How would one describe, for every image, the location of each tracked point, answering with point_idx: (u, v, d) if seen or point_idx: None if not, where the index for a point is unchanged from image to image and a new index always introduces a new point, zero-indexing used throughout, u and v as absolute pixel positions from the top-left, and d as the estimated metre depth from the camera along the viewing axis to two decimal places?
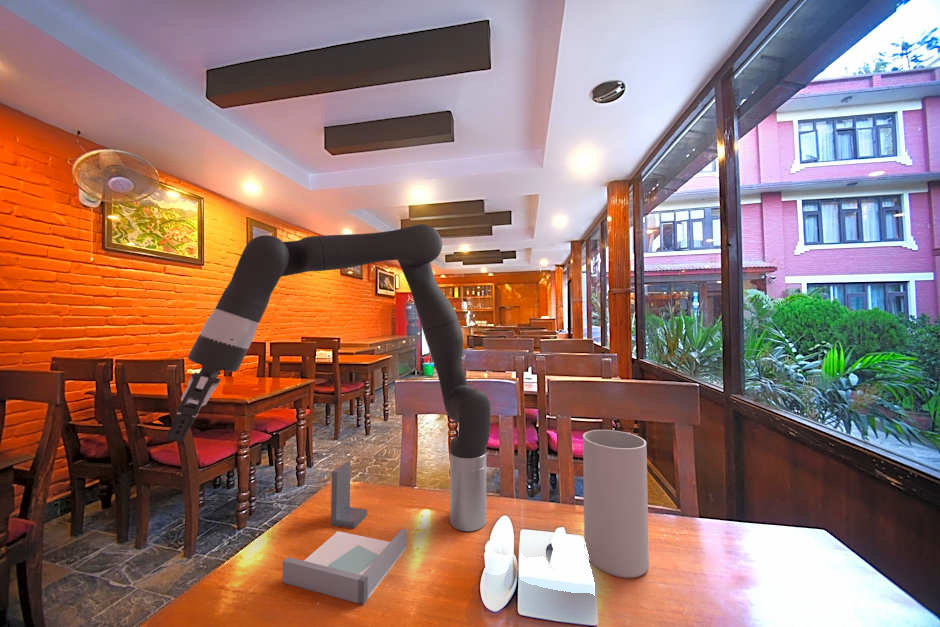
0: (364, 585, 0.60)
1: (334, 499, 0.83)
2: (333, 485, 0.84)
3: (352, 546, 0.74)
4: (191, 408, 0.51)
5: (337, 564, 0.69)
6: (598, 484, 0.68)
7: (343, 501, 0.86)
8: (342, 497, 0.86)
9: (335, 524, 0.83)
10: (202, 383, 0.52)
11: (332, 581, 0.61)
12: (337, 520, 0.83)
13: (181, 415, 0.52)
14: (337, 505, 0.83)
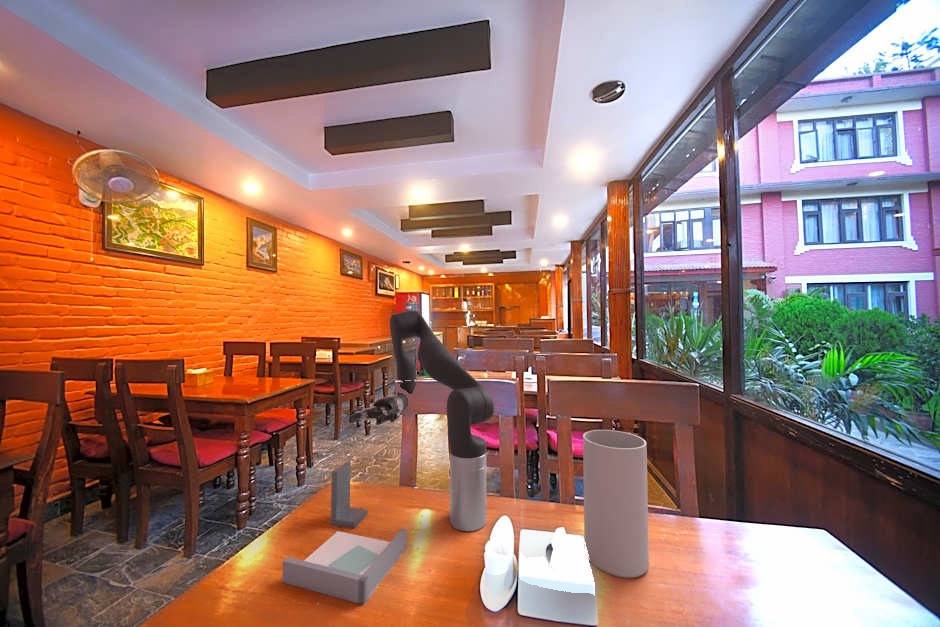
0: (364, 585, 0.60)
1: (334, 499, 0.83)
2: (333, 485, 0.84)
3: (352, 546, 0.74)
4: None
5: (337, 564, 0.69)
6: (598, 484, 0.68)
7: (343, 501, 0.86)
8: (342, 497, 0.86)
9: (335, 524, 0.83)
10: None
11: (332, 581, 0.61)
12: (337, 520, 0.83)
13: None
14: (337, 505, 0.83)
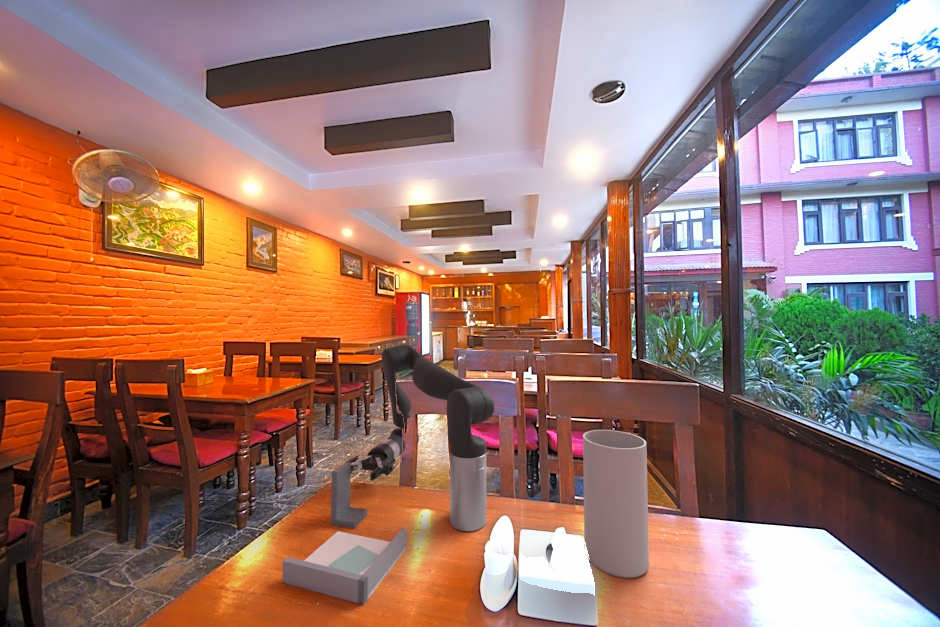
0: (364, 585, 0.60)
1: (334, 499, 0.83)
2: (333, 485, 0.84)
3: (352, 546, 0.74)
4: None
5: (337, 564, 0.69)
6: (598, 484, 0.68)
7: (343, 501, 0.86)
8: (342, 497, 0.86)
9: (335, 524, 0.83)
10: None
11: (332, 581, 0.61)
12: (337, 520, 0.83)
13: None
14: (337, 505, 0.83)
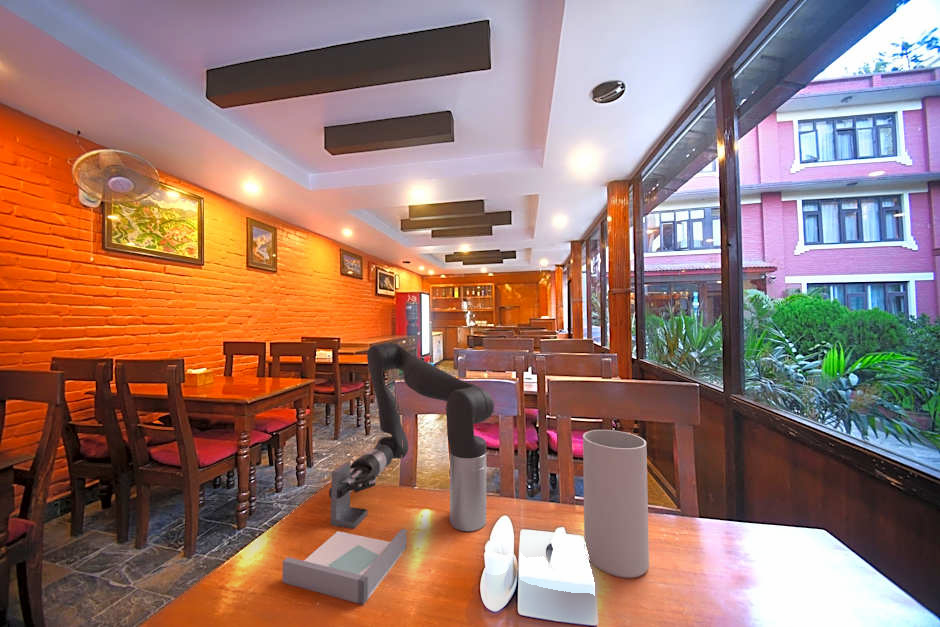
0: (364, 585, 0.60)
1: (334, 499, 0.83)
2: (333, 485, 0.84)
3: (352, 546, 0.74)
4: None
5: (337, 564, 0.69)
6: (598, 484, 0.68)
7: (343, 501, 0.86)
8: (342, 497, 0.86)
9: (335, 524, 0.83)
10: None
11: (332, 581, 0.61)
12: (337, 520, 0.83)
13: None
14: (337, 505, 0.83)
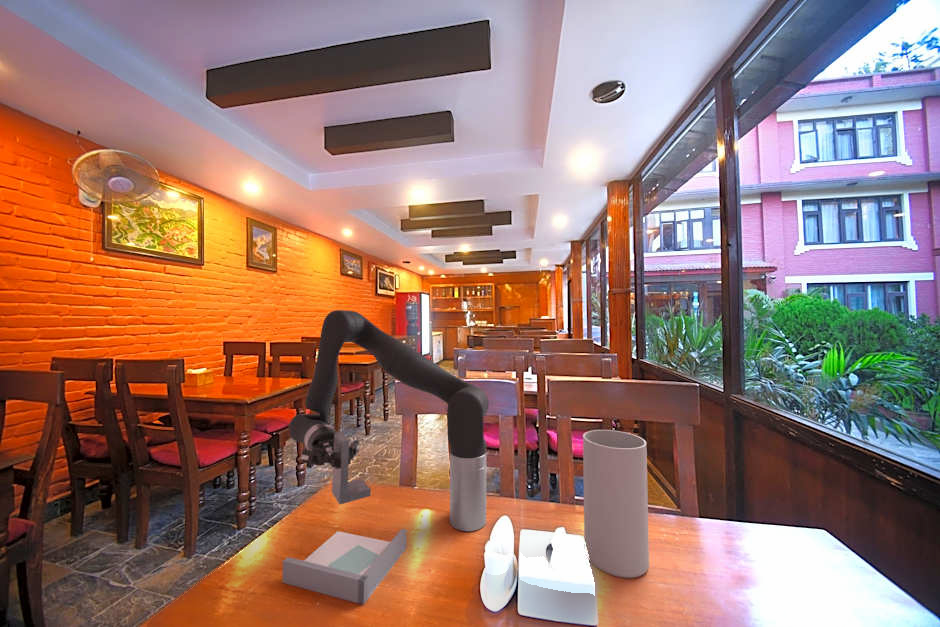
0: (364, 585, 0.60)
1: (345, 472, 0.70)
2: (344, 456, 0.70)
3: (352, 546, 0.74)
4: None
5: (337, 564, 0.69)
6: (598, 484, 0.68)
7: None
8: None
9: (346, 500, 0.71)
10: (304, 456, 0.74)
11: (332, 581, 0.61)
12: (349, 495, 0.71)
13: (327, 462, 0.73)
14: None
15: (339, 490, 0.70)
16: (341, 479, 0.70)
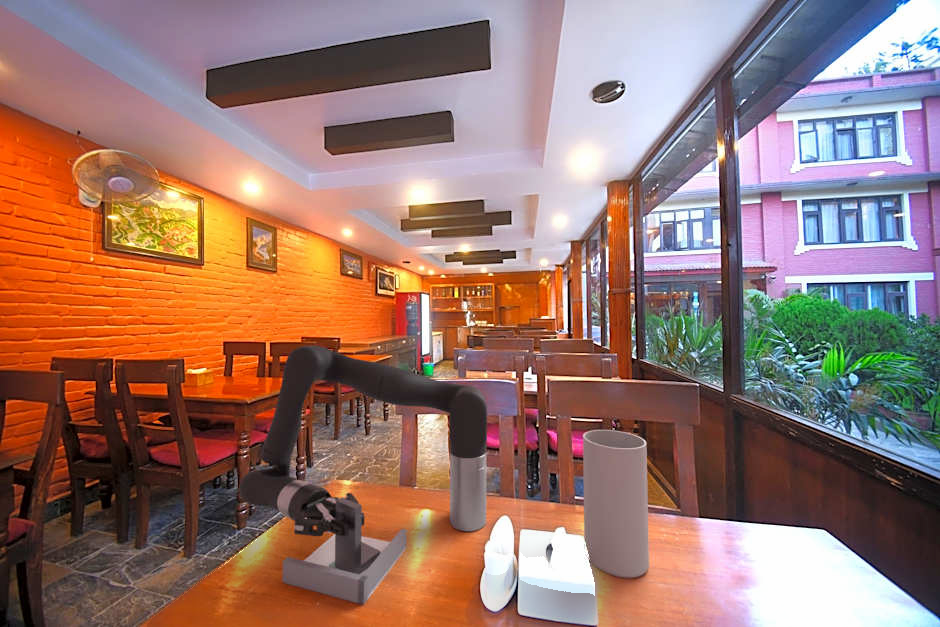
0: (364, 585, 0.60)
1: (358, 541, 0.66)
2: (357, 524, 0.66)
3: None
4: None
5: None
6: (598, 484, 0.68)
7: None
8: None
9: (360, 571, 0.66)
10: (298, 527, 0.66)
11: (332, 581, 0.61)
12: (362, 564, 0.66)
13: (327, 530, 0.66)
14: None
15: (353, 562, 0.65)
16: (355, 550, 0.65)
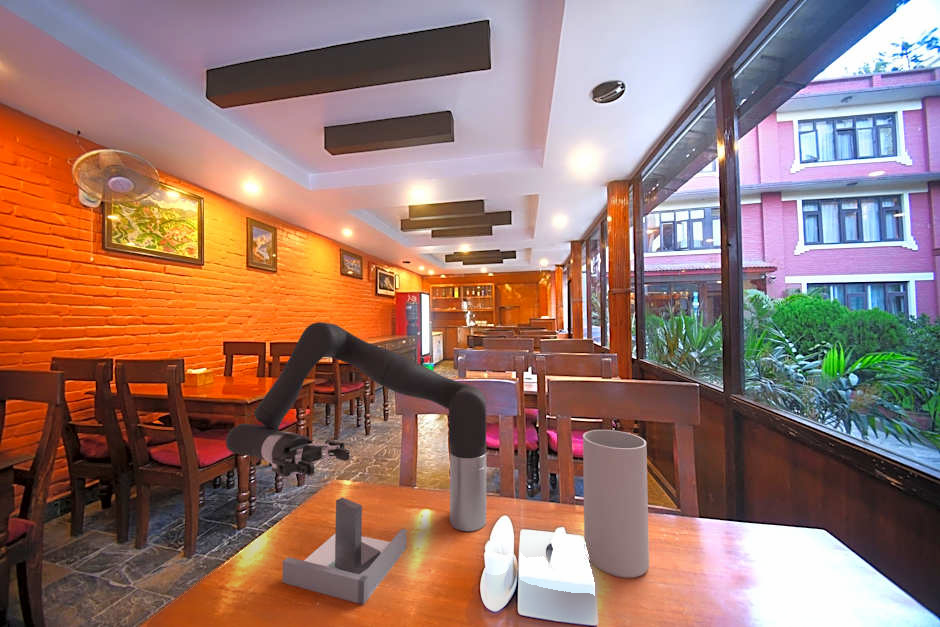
0: (364, 585, 0.60)
1: (358, 541, 0.66)
2: (357, 525, 0.66)
3: None
4: (283, 467, 0.68)
5: None
6: (598, 484, 0.68)
7: None
8: None
9: (360, 571, 0.66)
10: (273, 465, 0.70)
11: (332, 581, 0.61)
12: (362, 564, 0.66)
13: (294, 471, 0.68)
14: None
15: (353, 562, 0.65)
16: (355, 550, 0.65)
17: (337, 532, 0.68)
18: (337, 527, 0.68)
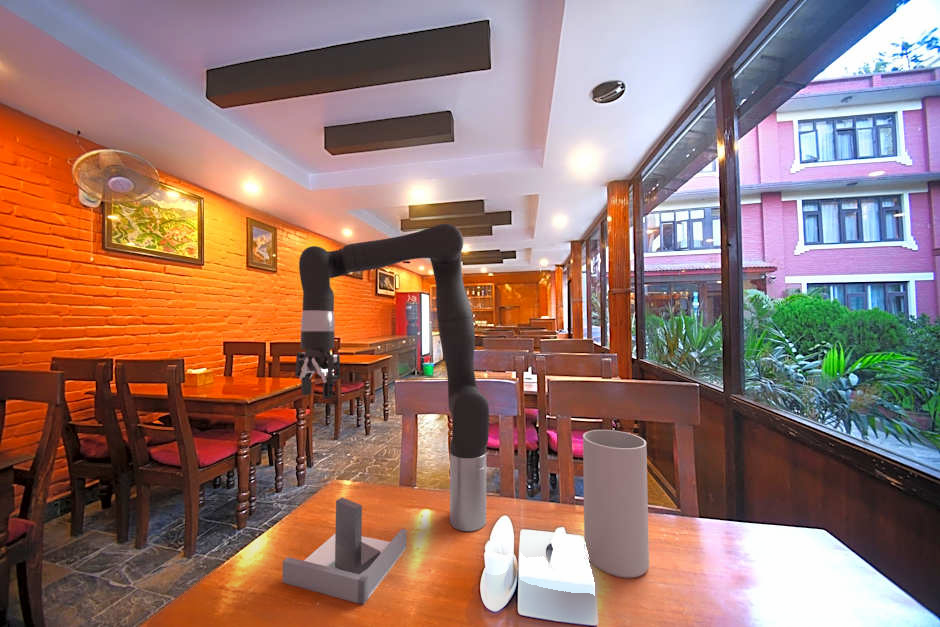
0: (364, 585, 0.60)
1: (358, 541, 0.66)
2: (357, 525, 0.66)
3: None
4: (336, 375, 0.79)
5: None
6: (598, 484, 0.68)
7: None
8: None
9: (360, 571, 0.66)
10: (335, 359, 0.79)
11: (332, 581, 0.61)
12: (362, 564, 0.66)
13: (329, 382, 0.79)
14: None
15: (353, 562, 0.65)
16: (355, 550, 0.65)
17: (337, 532, 0.68)
18: (337, 527, 0.68)
